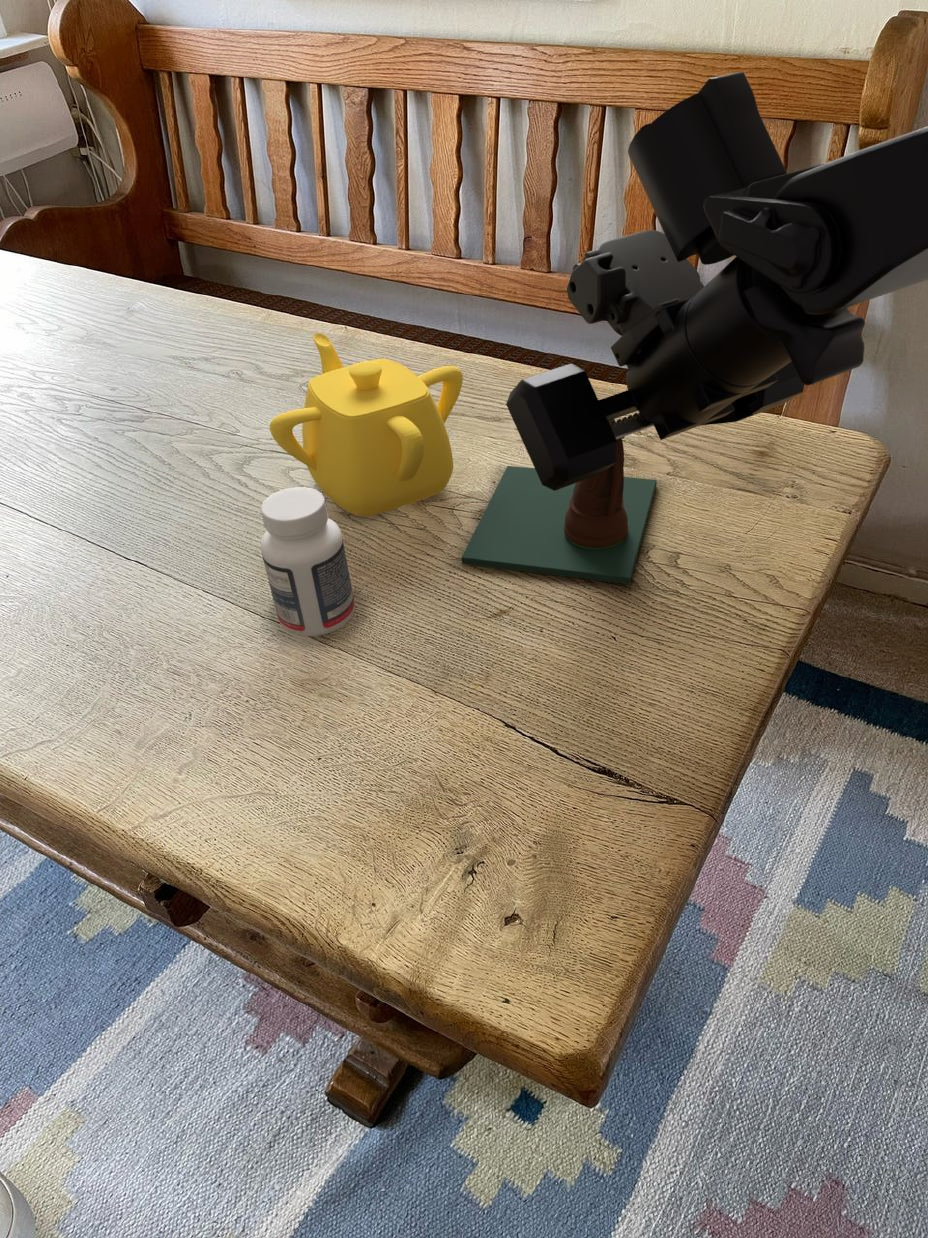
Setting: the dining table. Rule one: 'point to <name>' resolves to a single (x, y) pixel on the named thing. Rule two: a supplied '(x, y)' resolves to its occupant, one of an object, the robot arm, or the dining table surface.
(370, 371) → the teapot
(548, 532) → the play mat
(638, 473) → the dining table surface
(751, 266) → the robot arm
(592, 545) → the chess piece
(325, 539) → the pill bottle
